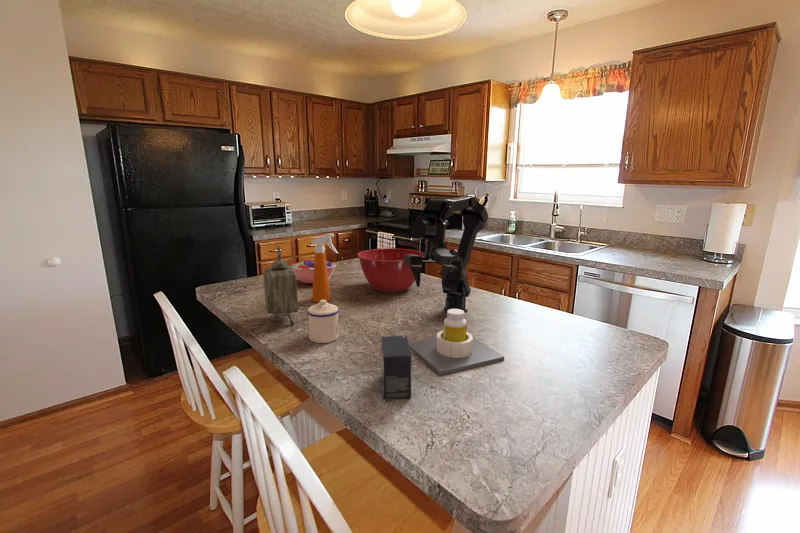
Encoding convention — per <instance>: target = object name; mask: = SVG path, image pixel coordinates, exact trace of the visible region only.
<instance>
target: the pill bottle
mask: <svg viewBox="0 0 800 533" xmlns="http://www.w3.org/2000/svg"><path fill="white" fill-rule="evenodd" d="M465 314H466V312H464V311H463V310H460V309H449V310H448V311H447V310H446V316H447V317H446V318H444V320H443V329H442V330H443V339H444V340H447V341H451V342H463V341H466V332H467V328H468V327H467V325H468V324H467V323H468V322H467V320H466V318H465V316H466V315H465Z"/></svg>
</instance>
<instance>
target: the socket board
mask: <svg viewBox="0 0 800 533" xmlns="http://www.w3.org/2000/svg"><path fill="white" fill-rule="evenodd" d="M443 330H444V329H442V330H440V331H438V332H437V333H436V337H432V338H428V339H422V340H417V341H416V340H415V341H412V342H411V341H410V342H409V346H410V351H411V353H413V354H415V355H416V356H417V357H418V358H419V359H420V360H422V362H424V363H425V364H426V365H427V366H428V367H429V368H431V369H432V370H433V371H434V372H436V374H438V376H440V377H441V376H444V375H449V374H453V373H456V372H457V373H458V372H460V371H464V370H468V369H469V370H470V369H472V368H477V367H480V366H481V365H482V366H485V365H489V364H493V363H497V362H502V361H505V356H504V355H503V354H501V353H500V352H498V351H497V350H494V349H493V348H491V347H490V346H488V345H487V344H485V343H483V342H482V341H481V340H479V339H477V338H475V337H474V336H473V334H471V333H470V332H468V331H466V341H463V342H451V341H447V340H444V339H443ZM482 366H481V367H482Z"/></svg>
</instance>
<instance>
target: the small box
mask: <svg viewBox="0 0 800 533" xmlns="http://www.w3.org/2000/svg"><path fill="white" fill-rule="evenodd" d="M409 343H410V342H409V340H408V336H407V335H393V336H391V335H388V336H381V349H380V353H381V354H380V356H381V357H380V358H381V359H380V361H381V362H380V363H381V366H380V367H381V385H382V396H383V400H384V401H385V399H387V400H407V399H408V400H411V399H412V358H413V355H412V351H411V350H410V346H409Z"/></svg>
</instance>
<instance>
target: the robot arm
mask: <svg viewBox="0 0 800 533" xmlns="http://www.w3.org/2000/svg"><path fill="white" fill-rule="evenodd" d="M457 211H460V214H461V215H460V216H461V217H462V220H461V221H462V225H463V232H462V235H461V238H460V241H459V244H458V248H457V249H452V248H451V249H447V243H446V242H445V241H446V240H445V238H446V230H447V226H450V222H449V221H448V220H447V219H448V218H449V217H450V216H453V213H454V212H457ZM488 219H489V214H488V211H487V209H486V207H485V206H484V204H481V203H480V202H479V201H478V200H477V197H475V196H473V195H462V196H459V197H458V196H457V197H455V198H449V199H443V198H430V199H428V201H427V203H426V204H425V206H424V207H423V210H422V212H421V213H420V215H417V216H416V219H415V220H414V221H413V222H412V223H411V225H410V228H409V229H410V230H409V231H410V234H411V236H412V237H413V238H414V239H416V240H424V241H423V242H424V244H425V251H424V252H422V253H423V256H424V257H422V256H419V255H416V254H406V255H405V256H404V263H406V264H407V265H408V266H410V268H411V270H412V273H413V275H414V279H415V281H414V282H415V284H416V287H418V288H420V285H421V273H422V269H423V266H422V265H421V264H436V265H438V266H441V267H442V268H441V288H442V293H443V294H446V298H445V306H444V307H443V310H446V312H447V311H448V310H449V309H460V310H463V311H464V312H465V313H467V312H468V311H469V310H468V309H466V301H467V300H466V298H468V297H469V296H470V295H471V291H472V290H471V289H472V288H471V287H470V286H469V283H468V278H469V277H468V274H467V267H468V265H469V264H468V263H469V260H470V257H471V255H472V251H473V248H474V245H475V241H476V238H477V235H478V233H480V232H481V230H483V229H484V228H485V225H486V223H487V221H488ZM425 239H426V240H425ZM420 265H421V266H420Z"/></svg>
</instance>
